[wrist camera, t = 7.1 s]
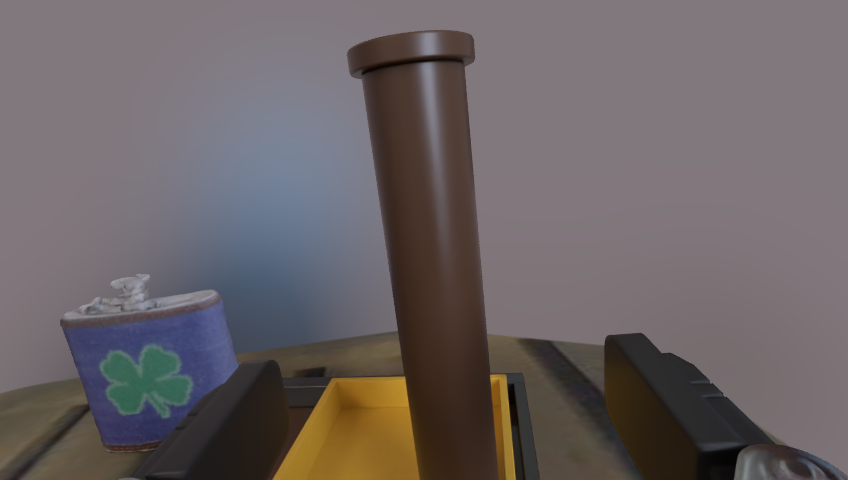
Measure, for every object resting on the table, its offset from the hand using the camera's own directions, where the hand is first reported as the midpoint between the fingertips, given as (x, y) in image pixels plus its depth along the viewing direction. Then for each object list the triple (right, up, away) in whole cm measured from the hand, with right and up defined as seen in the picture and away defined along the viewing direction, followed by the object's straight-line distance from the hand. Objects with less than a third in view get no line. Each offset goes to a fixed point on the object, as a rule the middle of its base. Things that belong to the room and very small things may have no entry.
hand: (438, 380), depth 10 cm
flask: (-16, -9, +17) cm, 25 cm away
